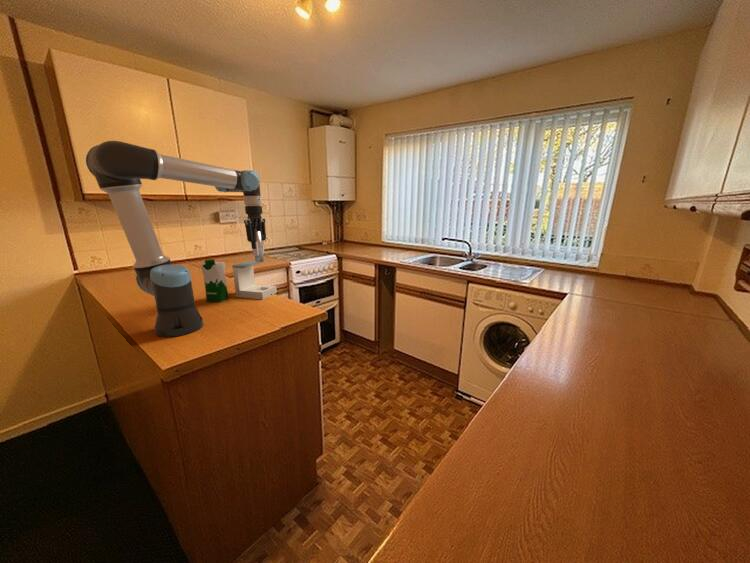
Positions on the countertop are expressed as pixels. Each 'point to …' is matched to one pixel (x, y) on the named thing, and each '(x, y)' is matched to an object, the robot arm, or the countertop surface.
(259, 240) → the peg
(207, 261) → the milk carton
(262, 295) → the l-shaped bracket
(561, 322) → the countertop surface
